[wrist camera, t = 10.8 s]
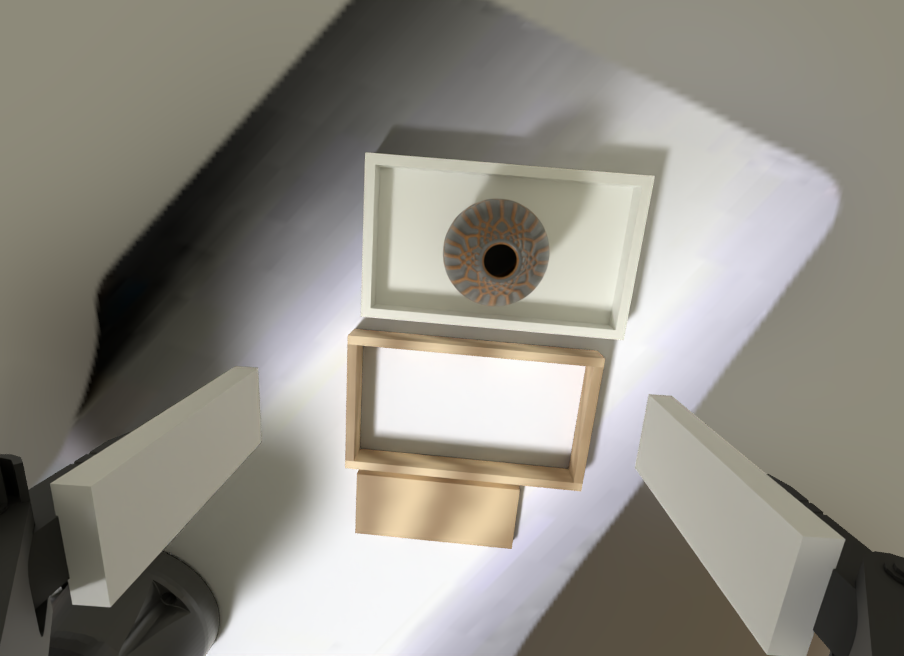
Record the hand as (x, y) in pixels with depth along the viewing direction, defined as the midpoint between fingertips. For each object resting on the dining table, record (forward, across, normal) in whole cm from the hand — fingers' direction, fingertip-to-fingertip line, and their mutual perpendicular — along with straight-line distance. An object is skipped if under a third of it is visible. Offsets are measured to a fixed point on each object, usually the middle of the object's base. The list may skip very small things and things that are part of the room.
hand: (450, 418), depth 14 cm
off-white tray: (+19, +3, +5) cm, 20 cm away
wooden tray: (+20, +2, -8) cm, 21 cm away
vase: (+19, +2, +5) cm, 20 cm away
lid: (+20, -1, -18) cm, 27 cm away
